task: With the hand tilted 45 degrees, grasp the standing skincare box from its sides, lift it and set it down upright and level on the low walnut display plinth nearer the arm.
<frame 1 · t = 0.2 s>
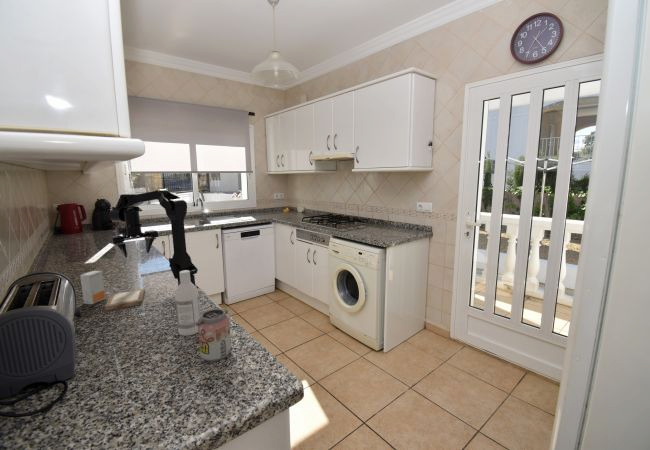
hand: (137, 255, 139), 14 cm above the worktop, tool pointing down, fingers open, 9 cm apart
skincare box: (95, 301, 122), on the worktop
bath foam: (190, 331, 97), on the worktop
beverage can: (215, 353, 85), on the worktop
display plinth: (126, 300, 122), on the worktop
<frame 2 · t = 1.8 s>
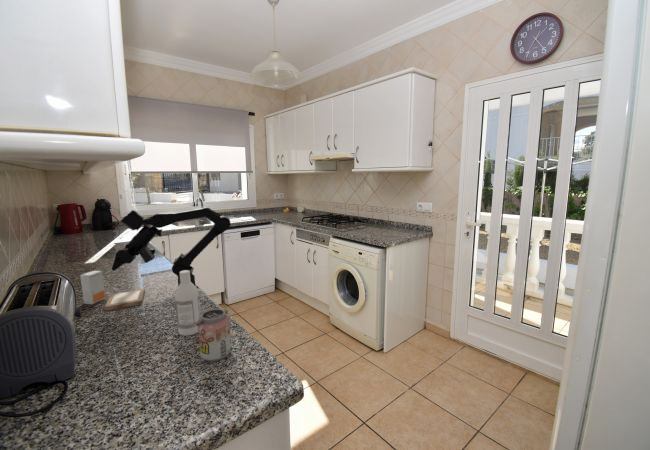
hand: (116, 266, 123), 13 cm above the worktop, tool tilted 45°, fingers open, 9 cm apart
nothing on the worktop moved.
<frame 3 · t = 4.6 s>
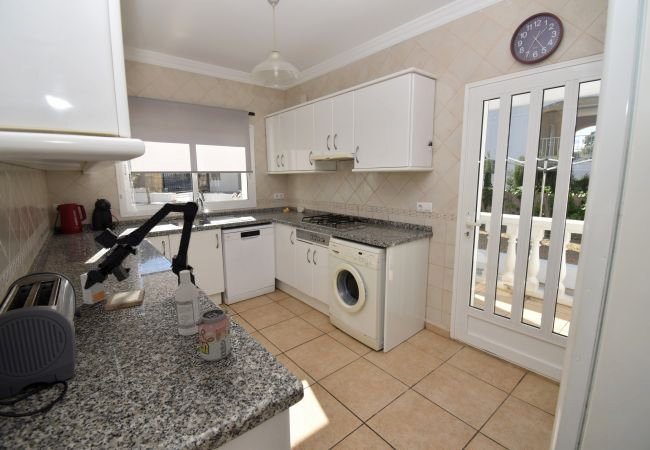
hand: (88, 286, 121), 7 cm above the worktop, tool tilted 45°, fingers closed on skincare box, 7 cm apart
skincare box: (95, 301, 122), on the worktop, touching gripper
everything else where it was.
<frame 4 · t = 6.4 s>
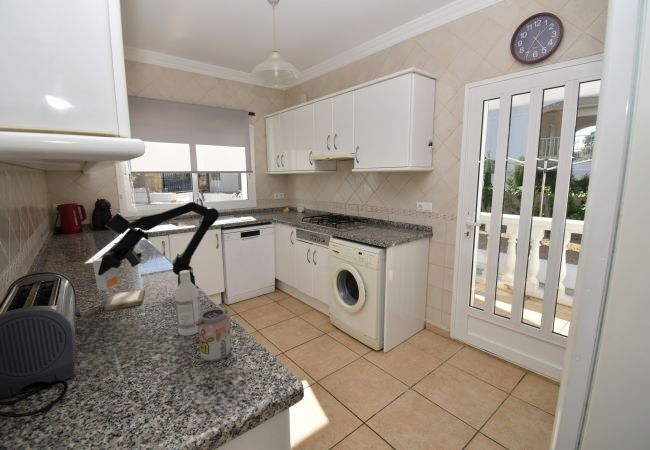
hand: (101, 272, 119), 12 cm above the worktop, tool tilted 45°, fingers closed on skincare box, 7 cm apart
skincare box: (108, 287, 121), point 6 cm above the worktop, touching gripper
everything else where it was.
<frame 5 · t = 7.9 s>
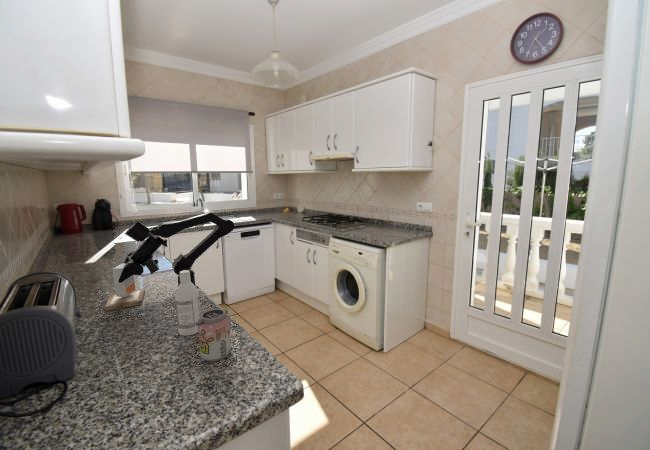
hand: (119, 279, 120), 9 cm above the worktop, tool tilted 45°, fingers closed on skincare box, 7 cm apart
skincare box: (126, 294, 122), point 2 cm above the worktop, touching gripper
everything else where it was.
when the fingers open (9 cm above the worktop, at t = 8.1 s): skincare box drops 1 cm, resting on display plinth.
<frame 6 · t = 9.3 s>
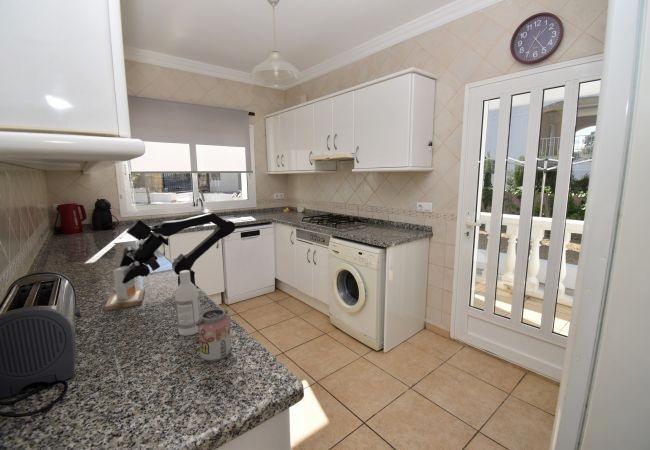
hand: (121, 277, 120), 10 cm above the worktop, tool tilted 45°, fingers open, 9 cm apart
skincare box: (126, 296, 122), point 1 cm above the worktop, touching display plinth, gripper
everything else where it was.
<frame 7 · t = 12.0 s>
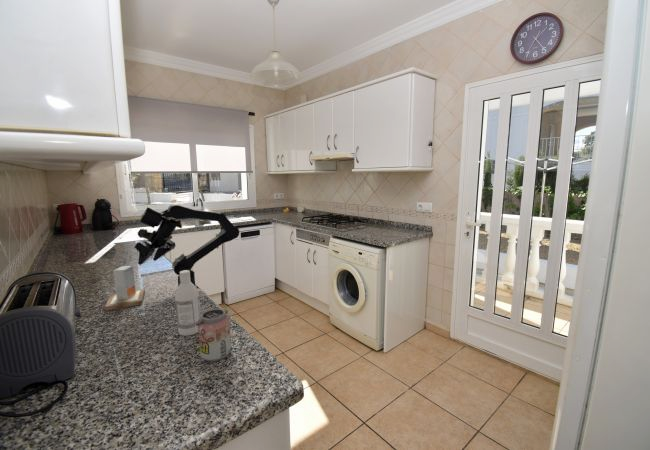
hand: (147, 262, 128), 14 cm above the worktop, tool tilted 35°, fingers open, 9 cm apart
skincare box: (126, 296, 122), point 1 cm above the worktop, touching display plinth
everything else where it was.
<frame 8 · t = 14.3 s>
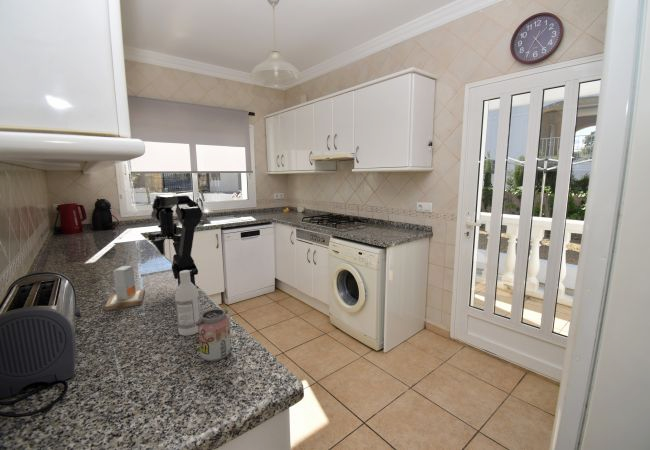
hand: (170, 255, 141), 13 cm above the worktop, tool pointing down, fingers open, 9 cm apart
nothing on the worktop moved.
at the end: skincare box 0.5 cm from the display plinth (horizontally); skincare box tilted 0°; skincare box touching display plinth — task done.
